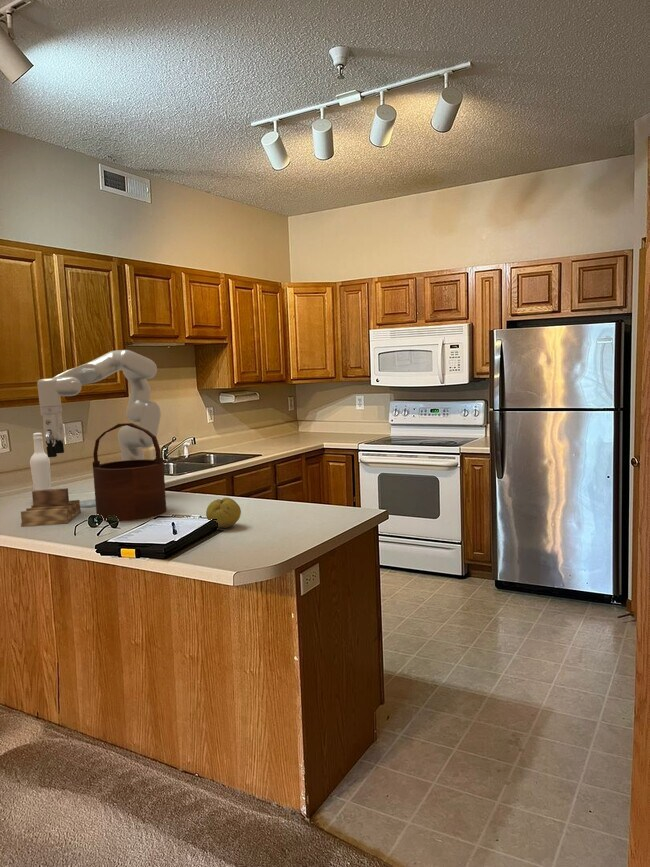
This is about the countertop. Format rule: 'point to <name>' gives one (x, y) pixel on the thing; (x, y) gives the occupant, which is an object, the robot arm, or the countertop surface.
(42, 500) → the board
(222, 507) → the fruit
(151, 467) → the wooden bucket
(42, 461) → the bottle
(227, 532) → the countertop surface
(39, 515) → the rack
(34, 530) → the countertop surface
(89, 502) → the pale blue rounded part
